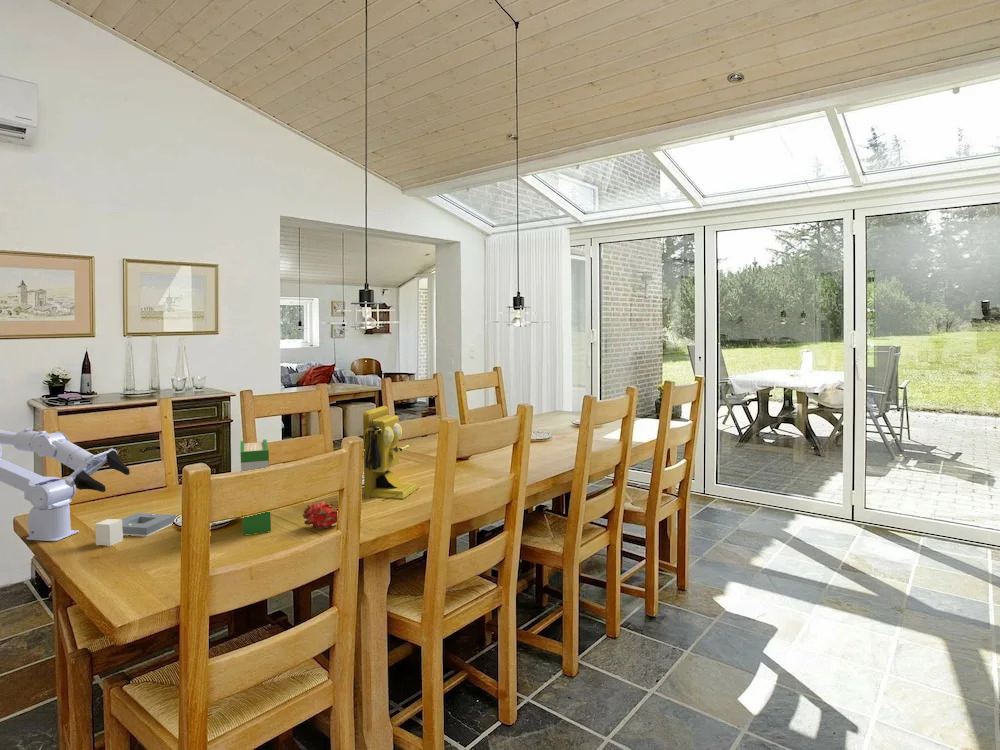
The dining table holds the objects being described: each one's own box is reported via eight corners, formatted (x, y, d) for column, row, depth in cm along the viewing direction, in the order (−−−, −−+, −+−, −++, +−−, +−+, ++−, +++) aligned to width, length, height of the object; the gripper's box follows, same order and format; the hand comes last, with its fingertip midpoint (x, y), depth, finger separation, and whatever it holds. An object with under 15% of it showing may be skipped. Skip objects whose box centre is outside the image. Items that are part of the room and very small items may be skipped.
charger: (96, 545, 165) (95, 523, 165) (108, 539, 170) (107, 518, 169) (110, 546, 165) (109, 524, 164) (123, 540, 169) (122, 519, 168)
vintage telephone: (392, 507, 200) (391, 417, 197) (353, 504, 203) (352, 415, 201) (425, 483, 230) (425, 404, 228) (391, 481, 234) (390, 403, 231)
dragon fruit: (299, 533, 180) (341, 535, 183) (300, 524, 173) (344, 526, 176) (303, 505, 184) (344, 508, 187) (304, 495, 177) (346, 498, 181)
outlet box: (106, 534, 174) (105, 524, 174) (137, 520, 186) (136, 512, 186) (146, 536, 172) (146, 527, 172) (175, 523, 184) (175, 514, 184)
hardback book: (243, 517, 190) (240, 441, 188) (268, 514, 192) (266, 439, 190) (243, 535, 173) (240, 452, 171) (270, 532, 176) (268, 450, 174)
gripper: (49, 464, 160) (91, 487, 158) (98, 433, 172) (137, 454, 170) (53, 481, 164) (94, 504, 163) (100, 451, 176) (139, 472, 174)
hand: (116, 480), depth 167 cm, fingers open, 7 cm apart
